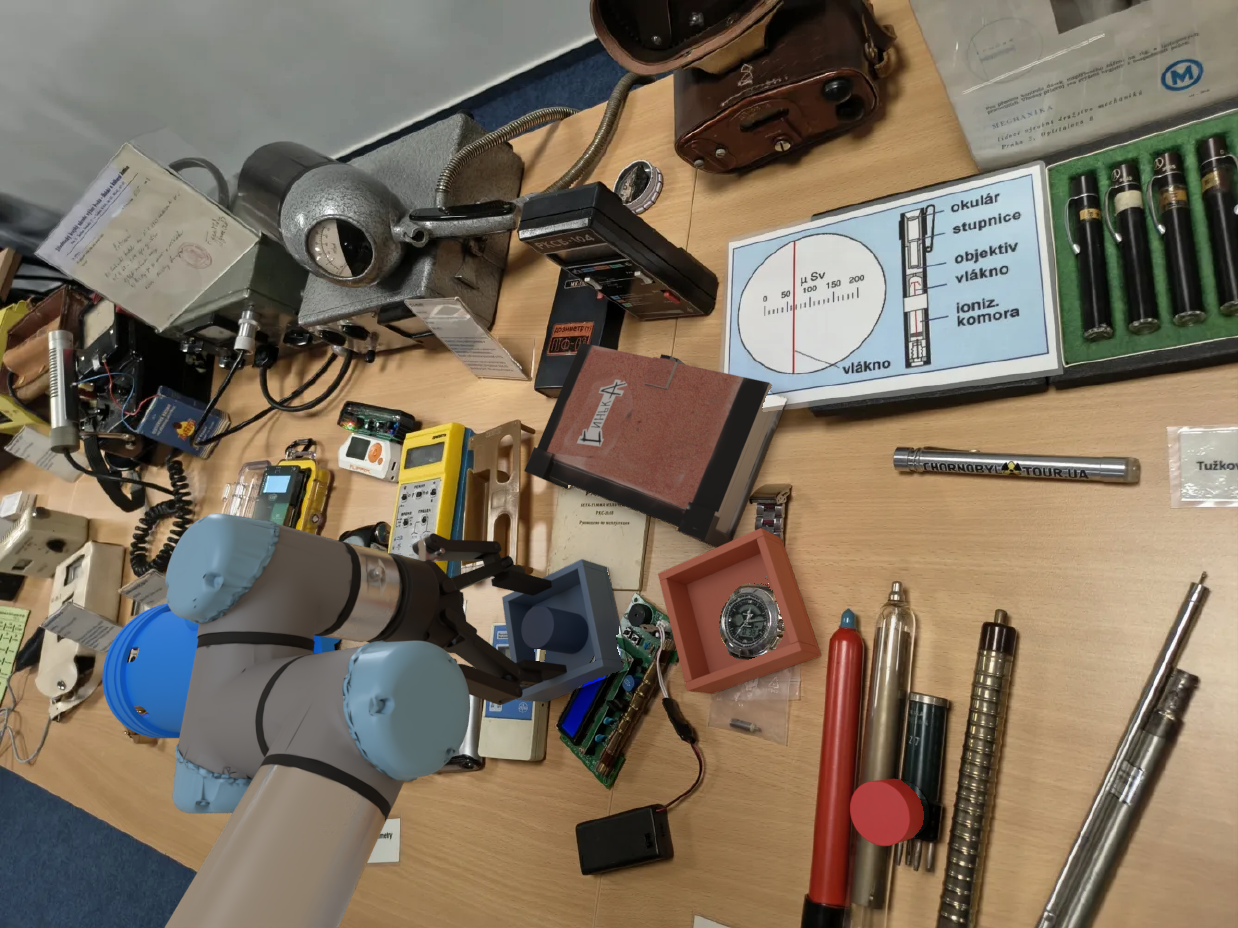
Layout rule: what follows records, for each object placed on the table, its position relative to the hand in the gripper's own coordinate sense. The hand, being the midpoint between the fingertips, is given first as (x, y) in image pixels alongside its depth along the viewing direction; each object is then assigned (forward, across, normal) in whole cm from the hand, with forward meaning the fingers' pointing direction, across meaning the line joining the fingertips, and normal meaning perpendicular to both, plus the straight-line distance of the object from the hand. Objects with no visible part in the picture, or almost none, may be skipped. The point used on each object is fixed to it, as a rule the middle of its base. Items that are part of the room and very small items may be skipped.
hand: (549, 629), depth 80 cm
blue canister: (+4, 0, 0) cm, 4 cm away
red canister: (+5, -24, -28) cm, 37 cm away
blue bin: (+5, 0, 0) cm, 5 cm away
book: (+5, +17, -16) cm, 24 cm away
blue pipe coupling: (+5, +12, +53) cm, 54 cm away
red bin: (+5, -5, -20) cm, 21 cm away
